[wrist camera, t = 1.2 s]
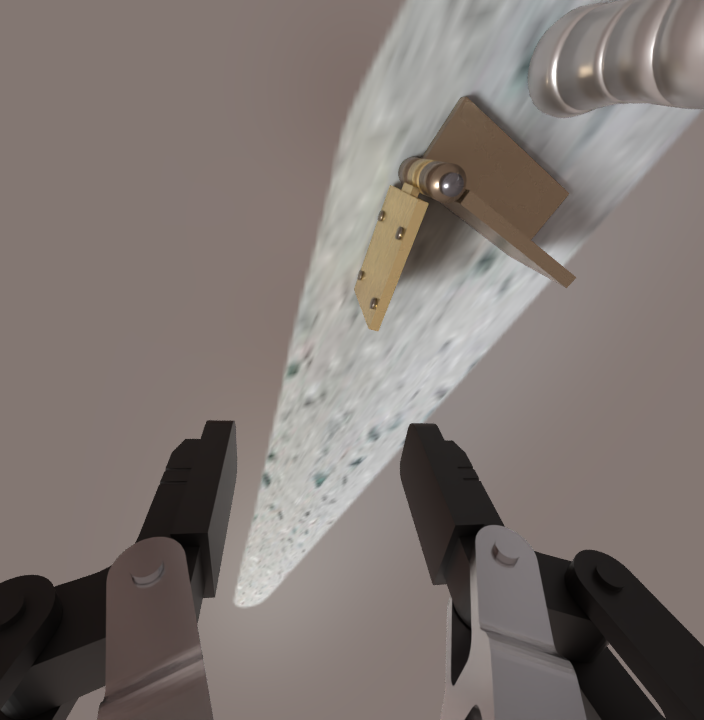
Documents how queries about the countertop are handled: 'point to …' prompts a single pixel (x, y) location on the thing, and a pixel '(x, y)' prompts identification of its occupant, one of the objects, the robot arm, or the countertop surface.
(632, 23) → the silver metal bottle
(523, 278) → the countertop surface
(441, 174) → the hinge mount
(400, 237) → the plate
